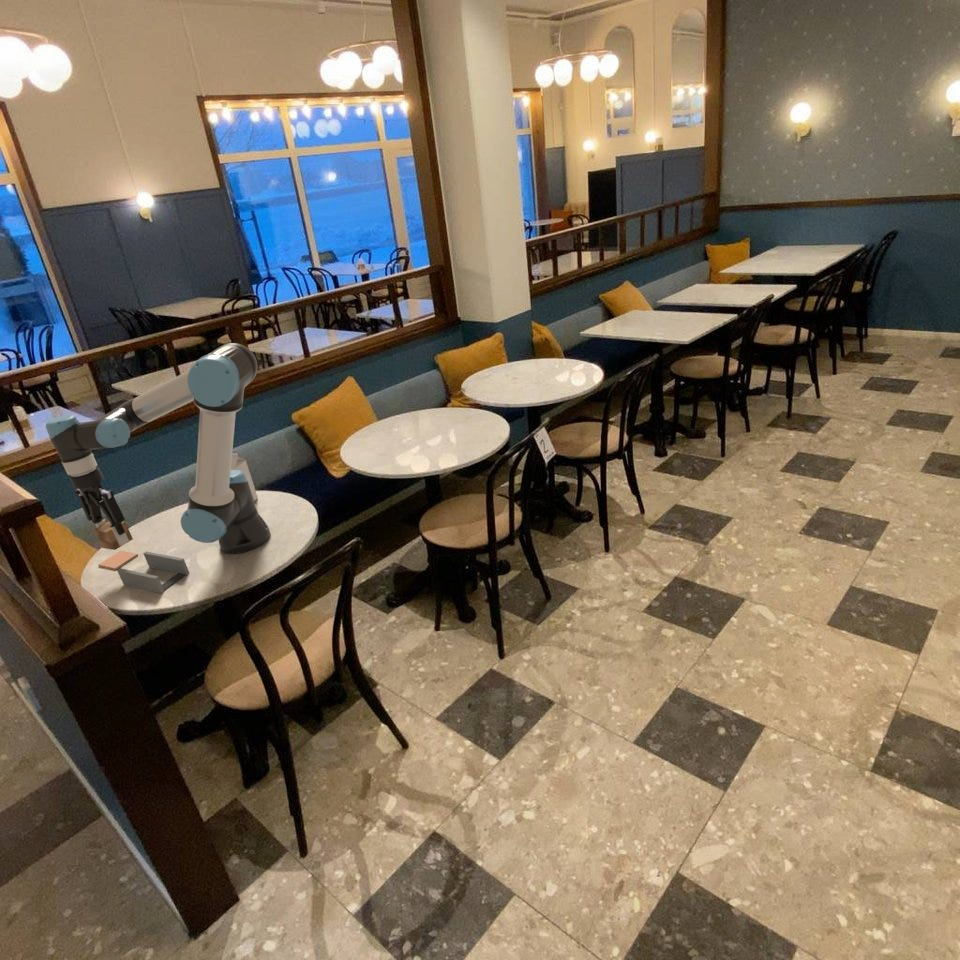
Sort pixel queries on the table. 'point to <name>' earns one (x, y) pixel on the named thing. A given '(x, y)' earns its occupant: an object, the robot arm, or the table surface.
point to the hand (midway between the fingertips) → (116, 542)
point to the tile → (118, 560)
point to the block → (110, 536)
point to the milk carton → (241, 465)
